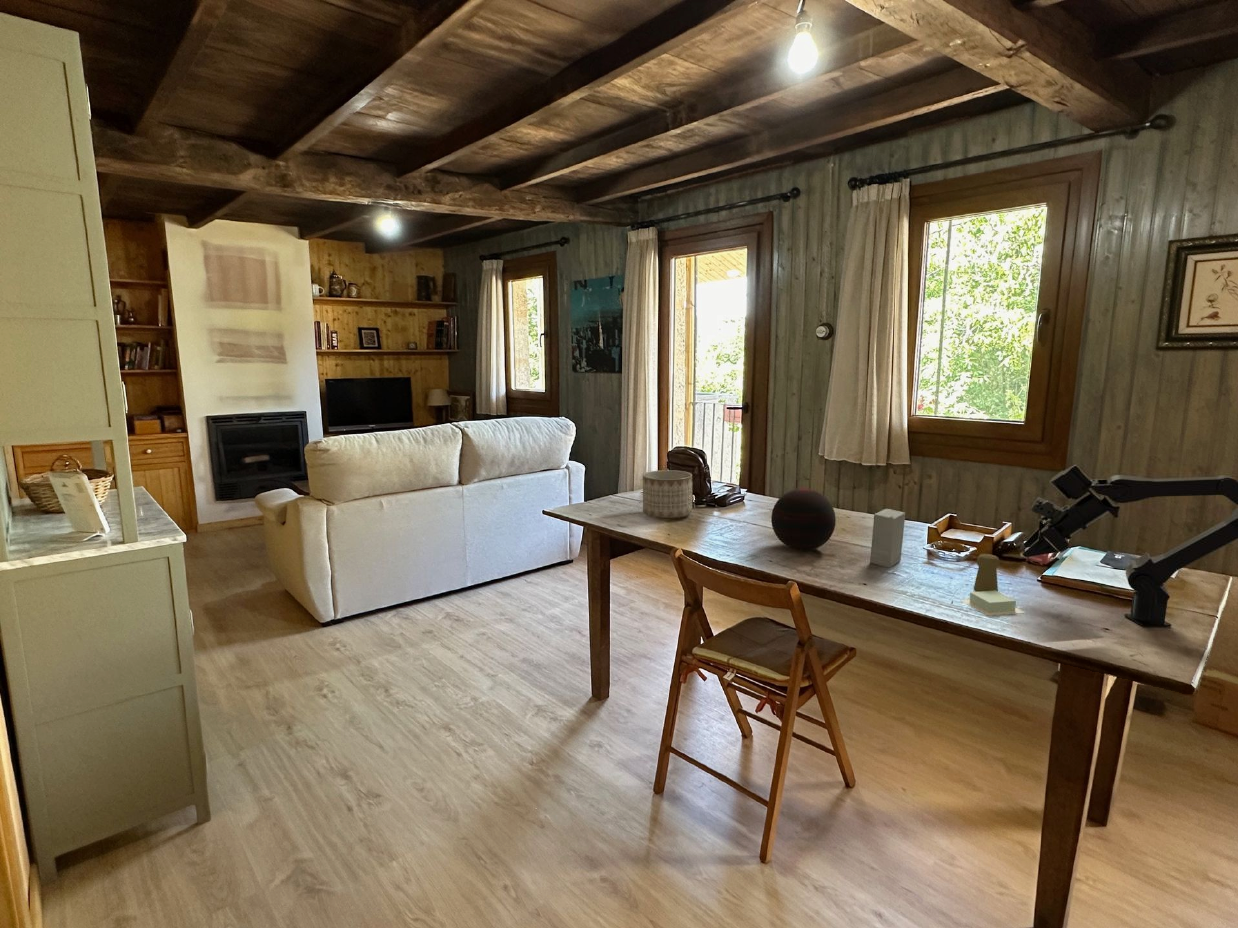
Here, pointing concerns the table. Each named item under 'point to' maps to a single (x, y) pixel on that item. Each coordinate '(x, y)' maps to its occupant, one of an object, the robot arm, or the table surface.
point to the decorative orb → (803, 519)
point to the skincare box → (887, 537)
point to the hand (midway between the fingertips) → (1024, 550)
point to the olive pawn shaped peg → (987, 573)
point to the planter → (667, 494)
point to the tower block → (992, 601)
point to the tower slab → (991, 612)
